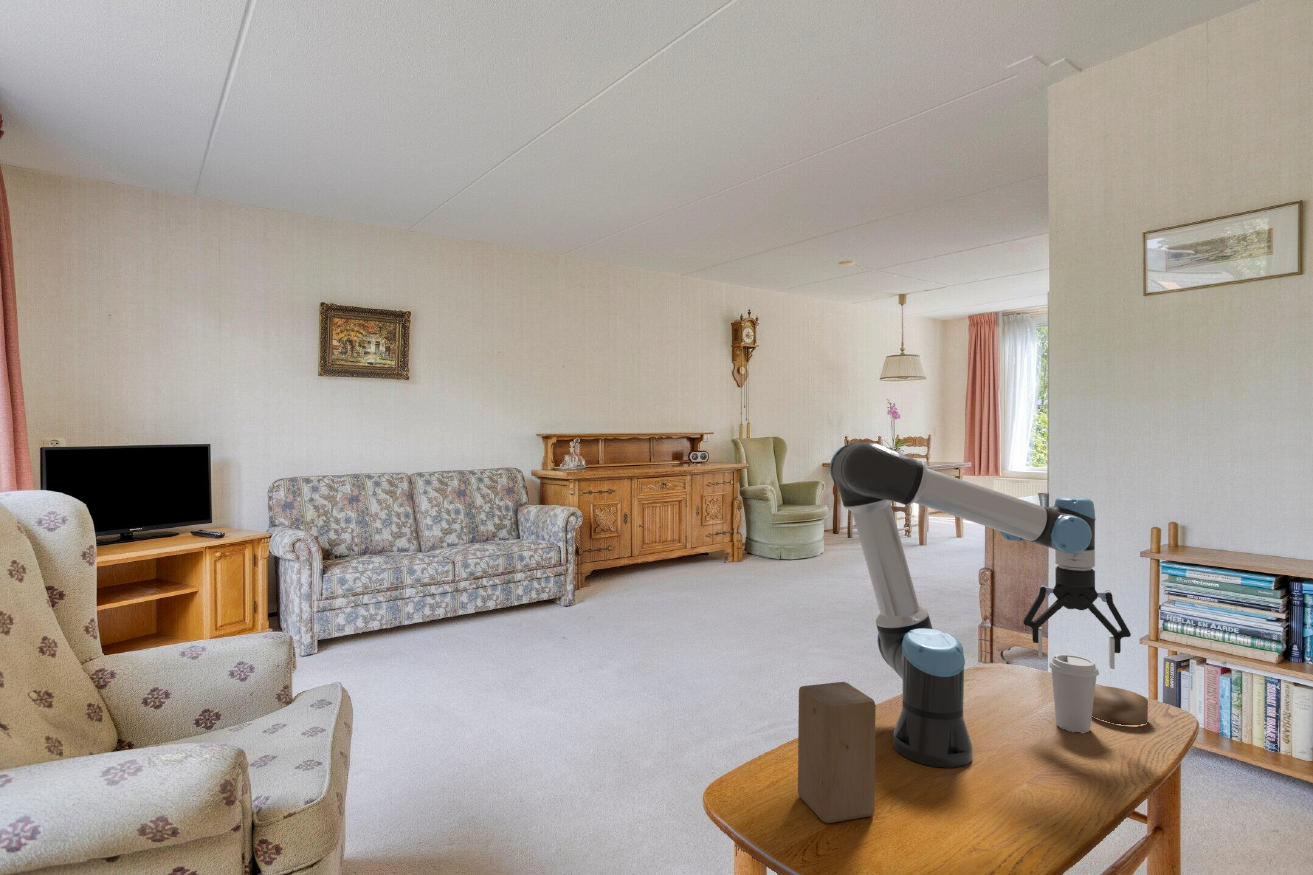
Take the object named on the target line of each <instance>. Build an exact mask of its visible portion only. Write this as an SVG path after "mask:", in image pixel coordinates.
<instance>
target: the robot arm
mask: <svg viewBox="0 0 1313 875" xmlns="http://www.w3.org/2000/svg"><path fill="white" fill-rule="evenodd" d="M829 464H830V465H829V472H830V476H831V479H832V480H833V483H834V484H835V486H836V487H838V491H839V494H840V499H841V502H842V505H843V507H844V508H845V509H846V510H848V511H850V512H851V513H852V515H853V516H852V517H853V519H854V522H855V527H856V530H857V534H858V537H859V541H860V545H861V548H862V551H863V555H864V559H865V563H866V566H867V567H866V568H867V571H868V574H869V578H870V581H871V586H872V588H873V593H874V595H875V598H876V599H875V600H876V603H877V606H878V610H879V614H878V616H877V617H876V618H875V621H874V622H875V624H876V625H875V626H876V629H877V633H878V634H877V637H876V639H877V641H876V642H877V647H878V650H879V652H880V653H879V654H881V657H882V659H883V660H884V661H885V663H886V664H887V665H888V666H889V667H890V668H891V669H892V670H893V671H895V673H896V674H897V675H898V676H899V677H900V678H901V680H902V699H901V700H902V704H901V705H902V706H901V708H902V709H901V711H900V713H899V716H898V719H897V721H896V725H895V728H894V730H893V735H892V738H893V739H892V744H893V748H894V749H895V751H896V752H897V753H898V754H900V755H901V756H902V757H904V758H906V759H908V760H910V761H913V762H916V763H919V764H922V765H926V766H930V767H937V768H958V767H959V768H960V767H963V766H966V765H968V764H970V763H971V762H972V760H973V749H974V748H973V743H972V740H971V738H970V735H969V732H968V731H969V730H968V729H967V725H966V722H965V719H964V701H965V700H964V695H965V694H964V692H965V691H964V690H965V689H964V688H965V665H966V659H965V655H964V653H965V652H964V647H963V644H962V643H961V641H960V640H959V639H958V638H956V637H955V636H954V635H952V634H949V633H947V632H946V633H945V632H943V631H942V630H937V629H934V628H933V626H932V621H931V618H930V614H929V612H928V610H926V609H925V608H924V607H921V606H920V605H919V602H918V598H917V597H918V596H917V594H916V590H915V587H914V583H913V580H912V576H911V572H910V569H909V565H908V561H907V558H906V555H905V551H904V547H903V543H902V539H901V536H900V533H899V529H898V525H897V522H896V518H895V514H894V511H893V508H892V502H894V503H899V504H901V505H904V506H910V505H912V504H917V505H920V506H923V507H927V508H930V509H931V510H935V511H939V512H941V513H944V514H948V515H950V516H954V517H957V518H959V519H962V520H966V521H969V522H972V523H975V524H978V525H981V526H983V527H987V528H990V529H992V530H993V529H994V530H996V531H999V532H1000V535H1001V537H1002V538H1003V539H1004V540H1007V541H1013V542H1015V541H1016V542H1022V541H1023V542H1025V541H1026V542H1030V543H1034V544H1036V545H1040V546H1043V547H1047V548H1049V549H1053V550H1055V564H1056V565H1057V566H1056V567H1055V585H1054V587H1051V586H1050V587H1049V586H1046V585H1045V584H1041V585H1040V586H1039V593H1038V595H1037V596H1036V597H1035V600H1034V602H1033V603H1032V605H1031V606H1030V608H1029V610H1028V611H1027V613H1026V615H1025V616H1024V618H1023V625H1024V626H1027V627H1030V628H1031V631H1032V642H1033V644H1038V645H1037V646H1038V647H1037V649H1038V650H1037V651H1038V652H1037V653H1038V654H1037V655H1038V656H1037V657H1038V658H1037V659H1038V660H1043V627H1041V626H1043V625H1044V624H1045V623H1046V622H1047V621H1048V620H1049V619H1050V618H1051V617H1053V615H1055V614H1056V613H1057V612H1058V611H1060V610H1061V609H1062V608H1063V607H1064V608H1065V609H1067V610H1078V611H1085V610H1088V611H1090V612H1091V614H1093V615H1094V617H1095V618H1096V619H1097V620H1098V621H1099V622H1100V623H1101V625H1102V626H1104V628H1105V629H1106V630H1107V631H1108V632H1109V633H1110V634H1111V635H1110V634H1109V636H1108V656H1109V657H1108V659H1109V660H1108V663H1109V664H1108V665H1109V668H1110V669H1111V670H1115V666H1116V665H1115V658H1116V657H1115V656H1116V655H1115V654H1121V652H1122V651H1121V650H1122V648H1121V644H1122V642H1121V640H1122V639H1123V638H1130V637H1131V636H1132V634H1131V631H1130V629H1129V627H1128V625H1127V624H1126V623H1125V621H1124V619H1123V617H1122V616H1121V614H1120V612H1119V611H1118V609H1117V607H1116V605H1115V603H1114V599H1113V594H1112V592H1111V591H1110V590H1105V591H1097V590H1096V570H1095V569H1093V568H1095V567H1096V550H1095V549H1096V547H1095V543H1096V537H1095V536H1096V532H1095V531H1096V530H1095V529H1096V511H1095V504H1094V501H1093V500H1091V499H1089V498H1087V497H1073V496H1071V497H1070V496H1063V497H1062V496H1061V497H1057V498H1055V500H1054V506H1042V505H1040V504H1037V503H1036V504H1035V503H1034V502H1030V501H1027V500H1023V499H1021V498H1018V497H1014V496H1012V495H1009V494H1005V493H1002V492H1000V491H998V490H997V491H996V490H993V489H991V488H988V487H984V486H983V485H978V484H975V483H972V482H969V481H966V480H963V479H960V478H957V477H954V476H951V475H948V474H946V473H942V472H940V471H936V470H934V469H930V468H927V467H926V465H925V463H924V462H923V461H921V460H918V459H916V458H913V457H911V456H909V455H905V454H903V453H900V452H898V451H896V450H895V449H892V448H890V447H887V446H885V445H883V444H880V443H876V442H865V441H855V442H850V443H847V444H845V445H843V446H841V447H839V448H838V450H836V451H835V453H834V454H833V456H832V458H831V460H830V463H829ZM1051 594H1053V595H1054V597H1055V598H1056V600H1055V601H1054V602H1053V603H1052V604H1051V605H1050V606H1049V607H1048V608H1047V609H1046V610H1045V611H1043V613H1042V614H1040V615H1039V616H1038V617H1037V618H1036V619H1035V620H1033V619H1034V617H1035V616H1036V614H1037V612H1038V611H1039V609H1040V608H1041V606H1042V604H1043V602H1044V600H1045V598H1047V597H1050V595H1051ZM1098 598H1099V599H1101V601H1102V602H1103V603H1106V605H1107V607H1108V608H1109V610H1110V613H1111V614H1112V616H1113V618H1114V620H1115V621H1116V623H1117V625H1118V626H1119V628H1120V630H1118V629H1117V628H1116V627H1115V626H1114V625H1113V624H1112V623H1111V621H1109V619H1108V618H1107V617H1106V616H1105V615H1104V614H1103V613H1102V612H1101V611H1100V609H1098V608H1097V606H1096V605H1095V604H1094V602H1096V600H1098Z"/></svg>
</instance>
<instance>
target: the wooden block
mask: <svg viewBox="0 0 1313 875" xmlns="http://www.w3.org/2000/svg"><path fill="white" fill-rule="evenodd" d="M797 723H798V730H797V731H798V734H797V736H798V737H797V739H798V740H797V751H798V752H797V793H798V796H799V798H800V799H801V800H802V801H803V802H804V803H805V804H806V805H807V806H808V807H809V808H810V810H812V812H813V813H815V815H816V816H817V817H818V818H819V819H820V820H821V821H822V822H823V823H826V824H832V823H838V822H844V821H849V820H856V819H860V818H861V819H862V818H866V817H872V816H873V815H874V814H875V812H876V810H875V809H876V808H875V806H876V805H875V804H876V802H875V801H876V798H875V796H876V794H875V793H876V792H875V791H876V786H875V785H876V781H875V780H876V703H875V700H874V699H873V698H872V697H870V696H868V695H867V694H865V693H863V692H862V691H861V690H859V689H858V688H856V687H855V686H853V685H851V684H850V683H848V682H846V681H837V682H830V683H828V682H827V683H820V684H819V683H818V684H817V683H816V684H811V685H810V684H809V685H802V686H799V688H798V722H797Z"/></svg>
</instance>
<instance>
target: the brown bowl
mask: <svg viewBox="0 0 1313 875" xmlns="http://www.w3.org/2000/svg"><path fill="white" fill-rule="evenodd" d="M1148 710H1149V701H1148V699H1147V698H1146V697H1145V696H1143V695H1141V694H1139V693H1137V692H1134V691H1132V690H1128V689H1125V688H1120V687H1113V686H1107V685H1095V693H1094V701H1093V710H1092V716H1093V717H1095V718H1098V719H1100V720H1104V721H1107V722H1110V723H1114V724H1121V725H1141V724H1146V723H1147V721H1149V720H1148V718H1149V715H1148V714H1149V712H1148ZM1147 724H1148V723H1147Z"/></svg>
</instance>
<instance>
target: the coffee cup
mask: <svg viewBox="0 0 1313 875" xmlns="http://www.w3.org/2000/svg"><path fill="white" fill-rule="evenodd" d="M1048 667H1049V668H1050V669H1051V677H1052V691H1053V702H1054V713H1055V724H1057V725H1056V726H1057V727H1058V726H1059V727H1058V728H1059V729H1061V728H1062V729H1061V730H1064V729H1066V730H1067V732H1070V731H1073V732H1072V733H1074V732H1088V731H1090V732H1091V728H1092V720H1093V718H1092V710H1093V701H1094V693H1095V686H1096V685H1097V677H1098V676H1099V675H1100V671H1099V669H1098V667H1097V666H1096V662H1094V660H1091V659H1090V658H1087V657H1083V656H1080V655H1075V654H1067V653H1066V654H1065V653H1063V654H1062V653H1061V654H1055V655H1053V657H1052V659H1051V660H1050V661H1049V663H1048ZM1066 730H1065V731H1066ZM1088 733H1089V732H1088Z"/></svg>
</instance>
